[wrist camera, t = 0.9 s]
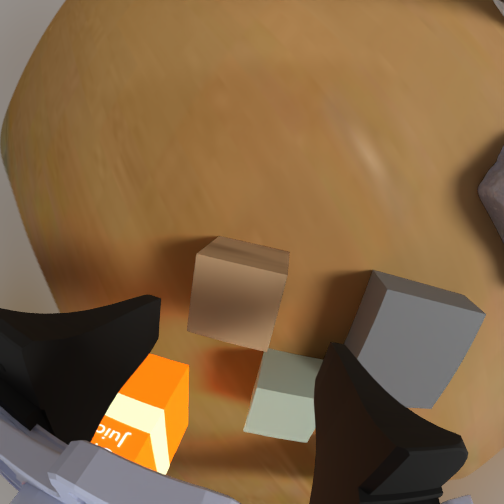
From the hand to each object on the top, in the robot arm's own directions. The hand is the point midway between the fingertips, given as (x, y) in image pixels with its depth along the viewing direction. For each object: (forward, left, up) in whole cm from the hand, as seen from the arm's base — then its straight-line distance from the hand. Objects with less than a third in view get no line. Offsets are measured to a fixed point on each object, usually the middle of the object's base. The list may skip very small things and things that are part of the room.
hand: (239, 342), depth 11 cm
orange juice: (-15, +8, -10) cm, 19 cm away
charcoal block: (-3, -12, -10) cm, 16 cm away
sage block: (-9, -4, -10) cm, 14 cm away
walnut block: (-1, +1, -10) cm, 10 cm away
